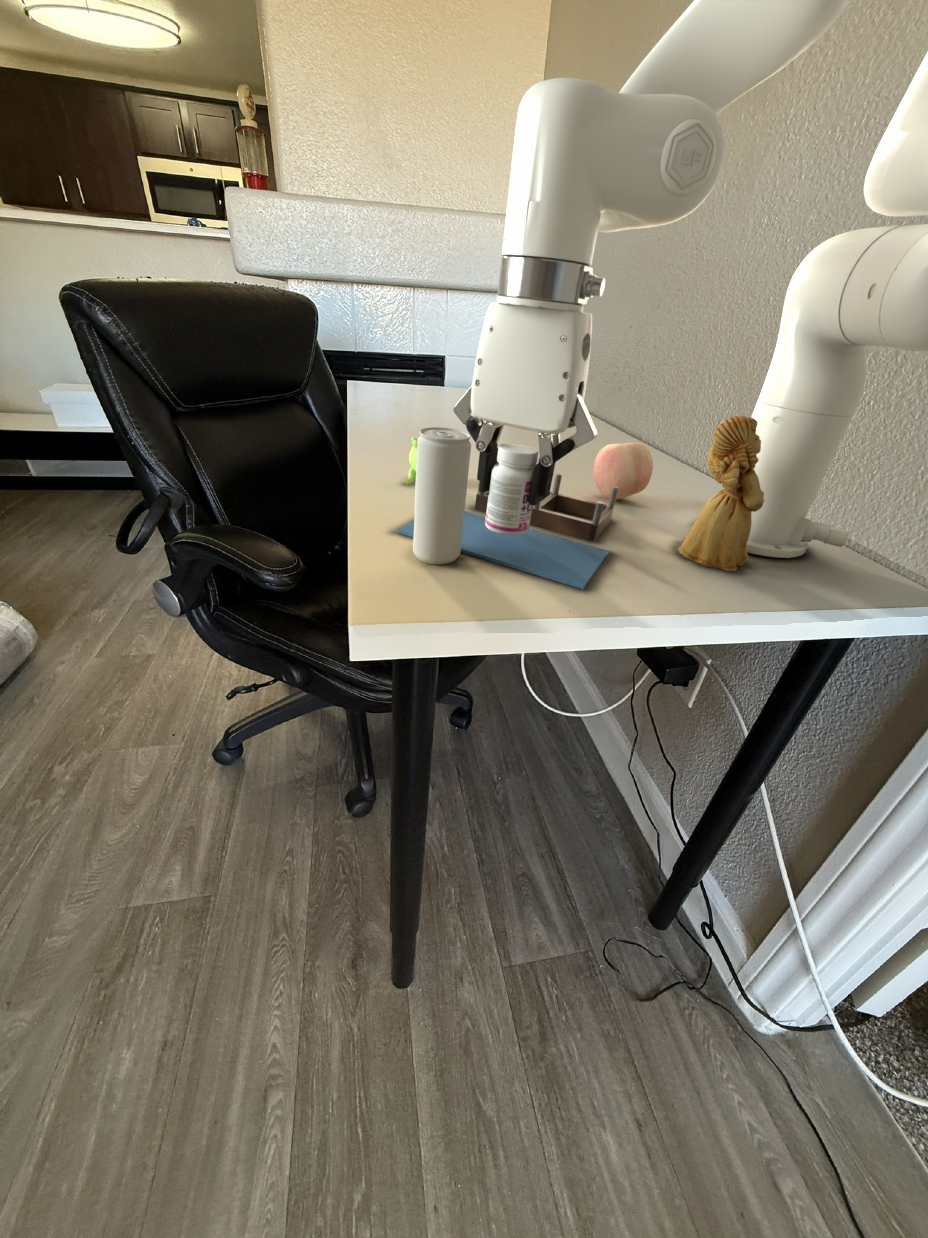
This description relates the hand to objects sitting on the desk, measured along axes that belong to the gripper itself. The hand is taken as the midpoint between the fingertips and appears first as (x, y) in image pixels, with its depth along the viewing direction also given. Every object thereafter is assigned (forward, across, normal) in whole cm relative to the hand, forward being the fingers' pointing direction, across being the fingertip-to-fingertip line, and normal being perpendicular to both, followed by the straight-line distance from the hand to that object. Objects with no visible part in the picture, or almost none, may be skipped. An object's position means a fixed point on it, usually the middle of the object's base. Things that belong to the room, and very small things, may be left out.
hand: (511, 493), depth 54 cm
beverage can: (+6, +4, +8) cm, 10 cm away
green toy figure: (+6, +18, -13) cm, 23 cm away
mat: (+6, 0, 0) cm, 6 cm away
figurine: (+6, -20, -12) cm, 25 cm away
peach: (+6, -6, -25) cm, 27 cm away
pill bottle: (+4, 0, 0) cm, 4 cm away
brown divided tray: (+6, 0, -11) cm, 13 cm away
